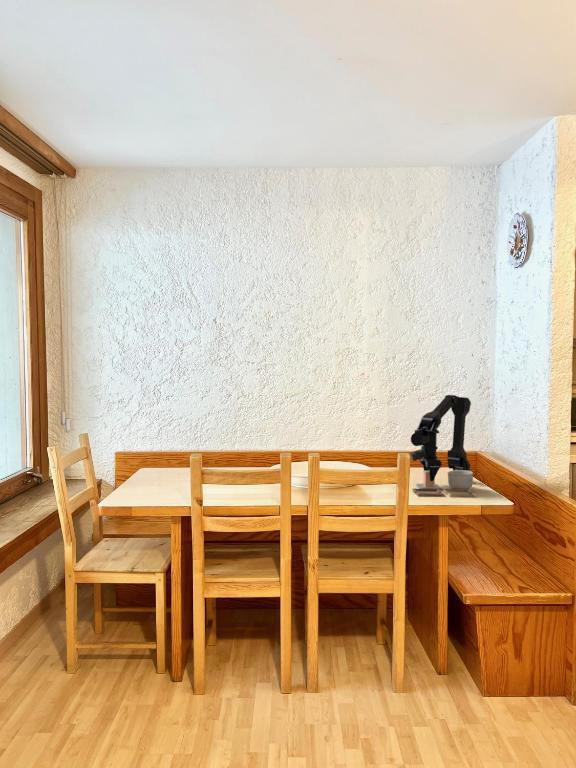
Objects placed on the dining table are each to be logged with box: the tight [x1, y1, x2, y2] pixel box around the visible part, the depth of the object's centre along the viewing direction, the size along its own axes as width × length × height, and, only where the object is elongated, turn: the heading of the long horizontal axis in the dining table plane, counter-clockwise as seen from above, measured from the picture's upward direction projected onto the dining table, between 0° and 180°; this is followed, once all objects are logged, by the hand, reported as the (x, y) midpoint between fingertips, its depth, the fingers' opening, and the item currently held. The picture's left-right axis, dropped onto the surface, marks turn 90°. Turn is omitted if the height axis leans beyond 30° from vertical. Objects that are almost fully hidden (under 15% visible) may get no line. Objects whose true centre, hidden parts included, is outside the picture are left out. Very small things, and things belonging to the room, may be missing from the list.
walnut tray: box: [412, 488, 445, 498], centre depth 279 cm, size 11×11×2 cm
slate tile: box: [416, 483, 443, 492], centre depth 290 cm, size 9×9×2 cm
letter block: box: [422, 470, 436, 487], centre depth 290 cm, size 4×4×6 cm
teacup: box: [447, 470, 474, 490], centre depth 292 cm, size 14×11×8 cm
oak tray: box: [442, 488, 477, 498], centre depth 279 cm, size 11×11×2 cm
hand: (429, 479), depth 290 cm, fingers open, 9 cm apart
